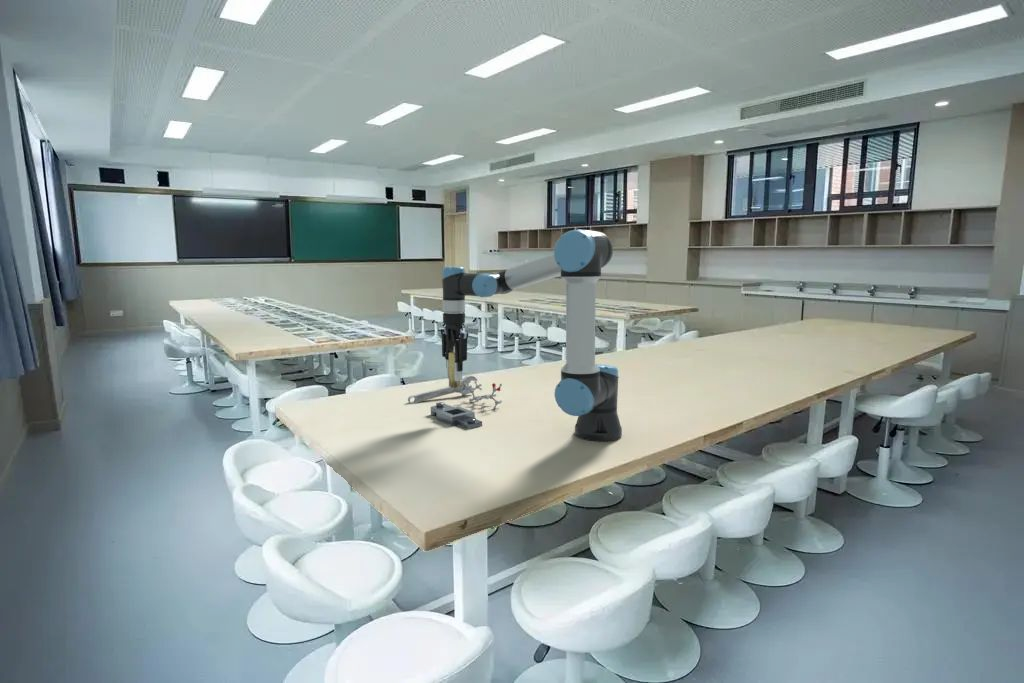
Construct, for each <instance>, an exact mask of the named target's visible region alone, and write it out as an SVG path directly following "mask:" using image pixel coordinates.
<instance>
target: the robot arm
mask: <svg viewBox="0 0 1024 683" xmlns="http://www.w3.org/2000/svg"><path fill="white" fill-rule="evenodd" d="M613 253H614V246H613V242H612V241H611V238H609V236H607V235H606V234H605V233H604V232H601V231H598V230H589V229H579V228H578V229H572V230H569V231H568V230H567V231H566V232H564V233H563V234H562V235H561V236H560V237H559V238H558V239H557V241H556V243H555V246H554V249H553V253H551V254H547V255H544V256H541V257H539V258H535V259H532V260H530V261H526V262H524V263H521V264H518V265H515V266H512V267H510V268H507V269H504V270H500V271H497V272H483V273H482V272H479V273H477V272H476V273H475V272H474V273H471V272H469V273H468V272H466V270H465V267H463V266H444V267H443V269H442V277H441V278H442V279H441V282H442V283H441V284H442V311H443V313H442V322H443V324H444V325H445V328H440V330H439V331H440V335H441V355H442V358H443V357H444V360H445V362H446V365H445V366H446V379H449V352H452V351H455V356H456V361H454V367H455V381H458V380H460V381H461V380H462V379H463V370H464V369H463V366H464V363H463V362H465V361H468V338H469V332H465V331H464V327H463V325H464V324H465V323H466V313H465V312H464V311H466V304H465V303H466V302H465V301H466V296H469V297H479V298H489V297H490V298H491V297H492V296H494V295H506V294H510V293H511V292H513V291H514V290H518V289H521V288H524V287H528V286H531V285H534V284H537V283H540V282H543V281H548V280H550V279H554V278H557V277H560V278H561V279H562V280H563V281H564V282H565V308H566V309H565V364H564V365H563V366H562V367H561V368H560V381H559V382H558V383H557V385H556V386H555V389H554V399H555V402H556V405H557V406H558V407H559V408H560V409H561V411H562V412H564V413H565V414H567V415H569V416H572V417H577V420H576V423H575V425H574V435H575V436H577V437H578V438H580V439H581V440H582V439H583V440H587V441H593V442H611V441H612V442H613V441H615V440H619V439H621V437H622V435H623V434H622V433H623V427H622V425H621V422H620V418H619V415H618V398H619V397H618V394H619V393H618V392H619V377H620V376H619V370H618V367H616V366H614V365H609V364H602V363H596V298H597V297H596V295H597V294H596V290H597V289H596V286H597V285H596V284H597V281H599V280H600V279H601V278H602V268H604V267H605V266H607V265H608V264H609V263H610V262H611V259H612V258H613Z"/></svg>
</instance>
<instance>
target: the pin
mask: <svg viewBox="0 0 1024 683" xmlns="http://www.w3.org/2000/svg"><path fill="white" fill-rule="evenodd" d="M454 361H456V356H455V350H454V351H452V352H449V378H448V387H453V388H456V387H460V381H461V380H458V381H455V367H454Z"/></svg>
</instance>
